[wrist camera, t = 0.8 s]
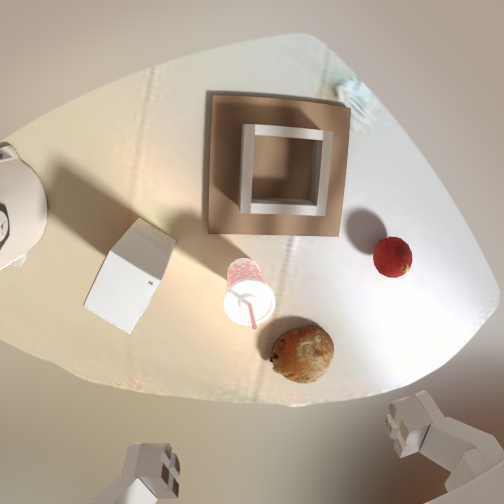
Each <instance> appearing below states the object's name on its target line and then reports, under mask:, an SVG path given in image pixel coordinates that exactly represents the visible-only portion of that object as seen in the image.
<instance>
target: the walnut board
mask: <svg viewBox="0 0 504 504" xmlns="http://www.w3.org/2000/svg"><path fill="white" fill-rule="evenodd" d="M350 114H351V108H347V107H341V106H335V105H328V104H321V103H313V102H305V101H297V100H287V99H277V98H264V97H249V96H229V95H213V103H212V122H211V145H210V173H209V213H208V234H252V235H296V236H332V237H339V229H340V222H341V214H342V205H343V196H344V187H345V177H346V167H347V156H348V143H349V130H350Z"/></svg>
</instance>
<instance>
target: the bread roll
mask: <svg viewBox="0 0 504 504" xmlns="http://www.w3.org/2000/svg"><path fill="white" fill-rule="evenodd" d="M333 352H334V345H333V341H332V339H331V337H330V336H329V335H328V333H327V332H325V331H324V330H322V329H320V328H317V327H314V326H305V327H301V328H297V329H294V330H291V331H288V332H287V333H285V334H284V335H283V336H282V337H281V338H279V339H278V340H277V342H276V343H275V345H274V348H273V350H272V356H271V359H270V362H273V366H274V367H273V370H274V371H275V372H277V373H280V374H282V375H283V376H284V377H285V378H286V379H289V380H291V381H294V382H298V383H312V382H315V381H316V380H318V379H319V378H320V377H321V376H322V375H323V374H324V373H325V372H326V371H327V369H328V367H329V365H330V362H331V360H332V358H333Z"/></svg>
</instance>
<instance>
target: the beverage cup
mask: <svg viewBox="0 0 504 504" xmlns="http://www.w3.org/2000/svg"><path fill="white" fill-rule="evenodd" d="M275 302H276V301H275V297H274V293H273V291H272V289H271V288H270V287H269V285H268V284H267V283H266V281H265V279H264V277H263V275H262V273H261V271H260V269H259V267H258V265H257V264H256V263H255V261H253V260H251V259H249V258H240V259H237V260H235V261H234V262H232V263H231V264H230V266H229V268H228V273H227V288H226V293H225V295H224V304H223V306H224V309H225V312H226V315H227V316H228V317H229V318H230V319H231V320H232V321H233V322H236V323H238V324H240V325H249V326H252V329H256V328H257V326H256V324H259V323H261V322H263V321H264V320H266V319H267V318H269V316H270V315H271V313H272V312H273V311H274V307H275Z"/></svg>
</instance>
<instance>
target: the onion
mask: <svg viewBox="0 0 504 504" xmlns="http://www.w3.org/2000/svg"><path fill="white" fill-rule="evenodd" d="M373 260H374V265H375V267H376V269H377V270H378V271H379V273H380V274H382V275H384V276H386V277H390V278H397V277H399V276H402V275H404V274H405V273H406V272H407V271H409V268H410V267H411V264H412V252H411V250H410V248H409V246H408V244H407V243H406V242H404V241H403V240H402V239H401V238H398V237H388V238H385V239H383V240H382V241H381V242H380V243H379V244H378V245H377V247H376V248H375V251H374V255H373Z"/></svg>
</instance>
